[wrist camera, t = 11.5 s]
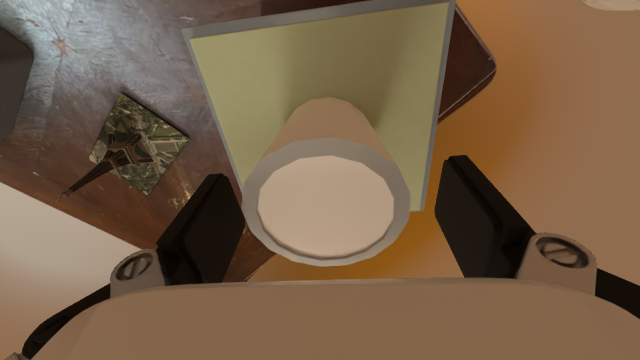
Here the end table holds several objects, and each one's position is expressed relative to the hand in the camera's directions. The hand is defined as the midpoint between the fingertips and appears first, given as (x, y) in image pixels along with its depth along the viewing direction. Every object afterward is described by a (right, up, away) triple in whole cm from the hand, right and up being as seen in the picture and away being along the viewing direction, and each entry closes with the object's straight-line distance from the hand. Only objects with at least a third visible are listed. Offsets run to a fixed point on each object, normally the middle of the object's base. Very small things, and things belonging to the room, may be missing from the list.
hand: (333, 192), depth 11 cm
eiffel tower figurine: (-28, +5, +27) cm, 40 cm away
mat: (0, +3, +5) cm, 6 cm away
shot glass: (0, +3, +5) cm, 6 cm away
